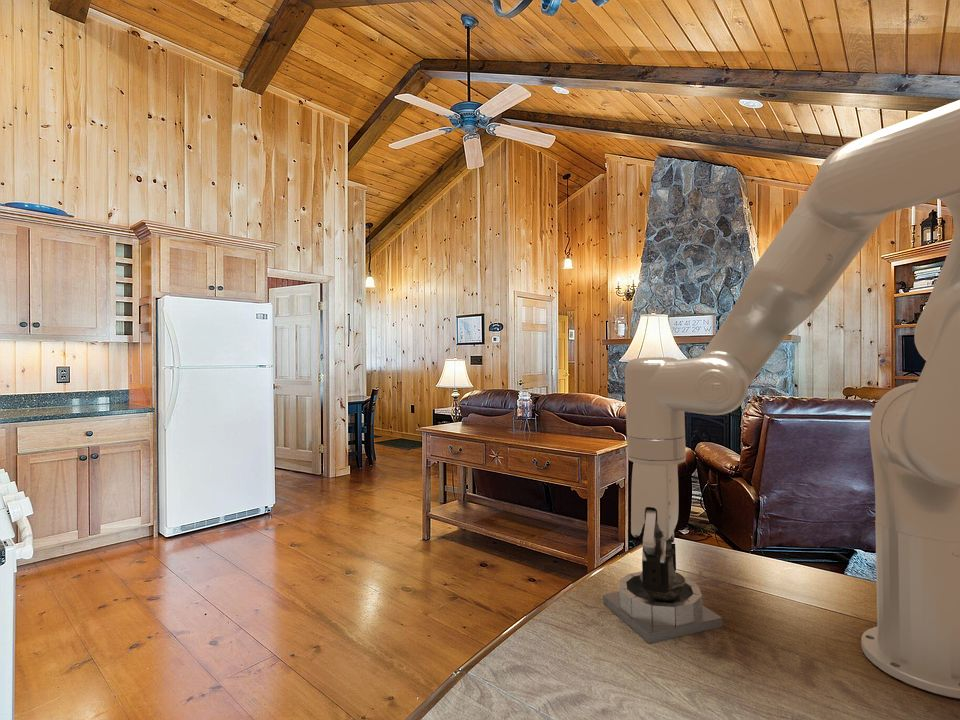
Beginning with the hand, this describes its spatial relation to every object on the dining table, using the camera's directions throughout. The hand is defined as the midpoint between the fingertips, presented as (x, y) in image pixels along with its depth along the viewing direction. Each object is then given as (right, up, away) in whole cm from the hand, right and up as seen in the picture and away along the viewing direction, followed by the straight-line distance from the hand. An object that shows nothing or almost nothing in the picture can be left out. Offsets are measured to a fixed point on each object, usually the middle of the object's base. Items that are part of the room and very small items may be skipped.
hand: (660, 579), depth 72 cm
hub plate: (0, -5, 0) cm, 5 cm away
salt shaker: (0, -4, 0) cm, 4 cm away
